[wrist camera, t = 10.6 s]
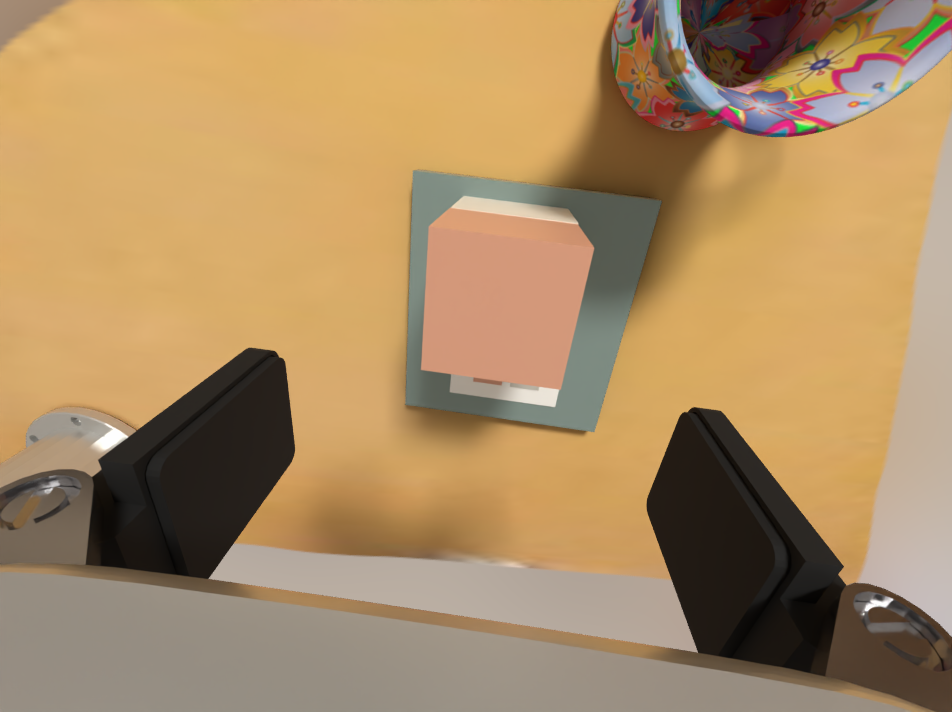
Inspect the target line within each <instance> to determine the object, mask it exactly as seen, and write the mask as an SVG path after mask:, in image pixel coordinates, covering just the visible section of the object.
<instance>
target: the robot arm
mask: <svg viewBox="0 0 952 712" xmlns="http://www.w3.org/2000/svg"><path fill="white" fill-rule="evenodd" d="M294 453H295V444H294V435H293V426H292V417H291V409H290V400H289V391H288V382H287V373H286V365H285V361H284V359H282V358H279V356H278V354H277V353H276V352H275V351H271V350H264V349H256V348H248V349H246V350H244V351H243V352H242V353H240V354H239V355H238V356H236V357H235V358H234V359H232V360H231V361H230V362H228V363H227V364H226V365H224V366H223V367H222V368H220V369H219V370H218V371H216V372H215V373H214V374H212V375H211V376H209V377H208V378H207V379H205V380H204V381H203V382H201V383H200V384H199V385H197V386H196V387H195V388H193V389H192V390H191V391H189V392H188V393H187V394H185V395H184V396H183V397H181V398H180V399H179V400H177V401H176V402H175V403H173V404H172V405H171V406H169V407H168V408H167V409H165V410H164V411H163V412H161V413H160V414H159V415H157V416H156V417H155V418H153V419H152V420H151V421H149V422H148V423H146V424H145V425H144V426H142V427H141V428H140V429H138V430H137V431H136V430H135V429H134V428H132V427H130V426H129V425H127V424H125V423H124V422H122V421H120V420H118V419H116V418H114V417H112V416H110V415H108V414H105V413H102V412H99V411H96V410H91V409H86V408H81V407H63V408H57V409H54V410H52V411H50V412H47V413H46V414H44V415H42V416H41V417H39V418H37V419H36V420H34V421H33V422H32V424H31V425H30V426H29V428H28V430H27V433H26V448H25V449H24V450H22V451H20V452H19V453H17V454H15V455H14V456H12V457H11V458H9V459H7V460H6V461H4V462H2V463H1V464H0V712H952V637H951V636H950V635H949V634H948V632H946V630H945V629H944V628H943V627H942V626H941V625H940V624H939V623H938V622H936V621H935V620H934V619H933V618H931V617H930V616H929V615H928V614H926V613H925V612H924V611H923V610H921V609H920V608H918V607H917V606H915V605H914V604H912V603H910V602H909V601H907V600H906V599H904V598H903V597H901V596H899V595H896V594H894V593H892V592H890V591H888V590H886V589H884V588H881V587H877V586H874V585H871V584H865V583H853V584H850V585H847V586H846V584H845V583H844V582H843V580H842V579H841V578H840V576H839V575H838V574H839V572H840V571H841V570H842V569H843V567H844V566H843V565H842V564H841V562H840V561H839V560H838V558H837V557H836V556H835V555H834V553H833V552H832V551H831V550H830V548H829V547H828V546H827V544H826V543H825V542H824V541H823V539H822V538H821V537H820V536H819V534H818V533H817V532H816V530H815V529H814V528H813V527H812V525H811V524H810V523H809V522H808V520H807V519H806V518H805V516H804V515H803V514H802V513H801V511H800V510H799V509H798V508H797V506H796V505H795V504H794V502H793V501H792V500H791V499H790V497H789V496H788V495H787V494H786V492H785V491H784V490H783V489H782V487H781V486H780V485H779V483H778V482H777V481H776V480H775V478H774V477H773V476H772V475H771V473H770V472H769V471H768V469H767V468H766V467H765V466H764V464H763V463H762V462H761V461H760V459H759V458H758V457H757V455H756V454H755V453H754V452H753V450H752V449H751V448H750V447H749V445H748V444H747V443H746V441H745V440H744V439H743V438H742V436H741V435H740V434H739V433H738V431H737V430H736V429H735V427H734V426H733V425H732V424H731V422H730V421H729V420H728V419H727V417H726V416H725V415H724V414H723V413H722V412H721V411H718V410H711V409H703V408H696V407H694V408H691V409H690V410H689V411H688V413H687V412H684V413H682V414H681V415H680V417H679V419H678V422H677V425H676V427H675V430H674V432H673V435H672V437H671V440H670V442H669V445H668V447H667V450H666V452H665V455H664V457H663V460H662V462H661V465H660V468H659V470H658V473H657V475H656V478H655V480H654V483H653V485H652V488H651V490H650V493H649V495H648V498H647V512H648V516H649V519H650V521H651V524H652V527H653V530H654V532H655V535H656V538H657V541H658V543H659V546H660V549H661V552H662V554H663V557H664V560H665V563H666V565H667V568H668V571H669V574H670V576H671V579H672V582H673V585H674V587H675V590H676V593H677V596H678V598H679V601H680V604H681V607H682V609H683V612H684V615H685V618H686V620H687V623H688V626H689V629H690V631H691V634H692V637H693V640H694V642H695V645H696V648H697V650H698V653H696V652H690V651H685V650H678V649H671V648H665V647H659V646H652V645H646V644H639V643H633V642H627V641H620V640H614V639H608V638H601V637H594V636H588V635H582V634H575V633H569V632H563V631H556V630H549V629H543V628H537V627H530V626H523V625H517V624H511V623H503V622H497V621H491V620H484V619H477V618H470V617H464V616H458V615H451V614H444V613H437V612H431V611H424V610H417V609H411V608H404V607H397V606H390V605H384V604H377V603H371V602H364V601H357V600H350V599H343V598H336V597H329V596H323V595H316V594H309V593H302V592H295V591H288V590H281V589H274V588H266V587H260V586H253V585H246V584H239V583H232V582H225V581H219V580H212V579H209V577H210V576H211V574H212V573H213V572H214V570H215V569H216V567H217V566H218V564H219V563H220V562H221V560H222V559H223V557H224V556H225V555H226V553H227V552H228V551H229V549H230V548H231V546H232V545H233V544H234V542H235V541H236V539H237V538H238V536H239V535H240V534H241V532H242V531H243V529H244V528H245V527H246V525H247V524H248V522H249V521H250V520H251V518H252V517H253V515H254V514H255V513H256V511H257V510H258V508H259V507H260V506H261V504H262V503H263V501H264V500H265V499H266V497H267V496H268V494H269V493H270V492H271V490H272V489H273V487H274V486H275V485H276V483H277V482H278V480H279V479H280V478H281V476H282V475H283V473H284V472H285V471H286V469H287V468H288V466H289V465H290V463H291V462H292V460H293V457H294Z"/></svg>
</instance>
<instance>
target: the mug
mask: <svg viewBox="0 0 952 712" xmlns="http://www.w3.org/2000/svg"><path fill="white" fill-rule="evenodd" d="M951 50H952V0H620V1H619V4H618V7H617V11H616V14H615V19H614V24H613V30H612V42H611V52H612V63H613V69H614V74H615V78H616V80H617V83H618V86H619V88H620V91H621V93H622V95H623V96H624V98H625V100H626V101H627V103H628V104H629V105H630V107H631V108H632V109H633V110H634V111H635V112H636V113H637V114H638V115H639V116H641V117H642V118H643V119H645V120H646V121H648V122H649V123H651V124H653V125H655V126H658V127H661V128H664V129H668V130H674V131H693V130H700V129H704V128H708V127H711V126H714V125H716V124H719V123H722V124H724V125H726V126H728V127H730V128H733V129H736V130H738V131H741V132H744V133H749V134H753V135H758V136H767V137H793V136H802V135H808V134H813V133H818V132H822V131H825V130H829V129H832V128H836V127H838V126H841V125H843V124H846V123H849V122H851V121H854V120H856V119H858V118H860V117H862V116H864V115H866V114H868V113H870V112H872V111H874V110H875V109H877V108H879V107H881V106H882V105H884V104H886V103H887V102H889V101H890V100H892V99H893V98H895V97H896V96H898V95H899V94H901V93H902V92H904V91H905V90H907V89H908V88H909V87H910V86H912V85H913V84H914V83H916V82H917V81H918V80H919V79H921V78H922V77H923V76H924V75H925V74H927V73H928V72H929V71H930V70H931V69H932V68H933V67H935V66H936V65H937V64H938V63H939V62H940V61H941V60H942V59H943V58H944V57H945V56H946V55H947V54H948V53H949V52H950V51H951Z"/></svg>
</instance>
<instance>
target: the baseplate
mask: <svg viewBox="0 0 952 712" xmlns="http://www.w3.org/2000/svg"><path fill="white" fill-rule="evenodd" d="M661 203H662V201H661V200H658V199H656V198H647V197H639V196H631V195H623V194H615V193H606V192H598V191H590V190H582V189H574V188H565V187H557V186H549V185H541V184H533V183H524V182H516V181H508V180H500V179H492V178H483V177H475V176H467V175H459V174H451V173H442V172H434V171H426V170H414V171H413V189H412V220H411V251H410V282H409V312H408V343H407V374H406V404H405V405H411V406H418V407H425V408H432V409H439V410H445V411H452V412H459V413H466V414H473V415H480V416H487V417H494V418H501V419H508V420H515V421H522V422H528V423H535V424H542V425H549V426H556V427H563V428H570V429H577V430H584V431H591V432H594V431H595V428H596V424H597V421H598V418H599V414H600V411H601V407H602V404H603V401H604V397H605V394H606V390H607V387H608V383H609V380H610V377H611V373H612V370H613V366H614V363H615V360H616V356H617V353H618V349H619V346H620V343H621V339H622V336H623V332H624V329H625V325H626V322H627V319H628V315H629V312H630V308H631V305H632V302H633V298H634V295H635V291H636V288H637V285H638V281H639V278H640V274H641V271H642V268H643V264H644V261H645V257H646V254H647V250H648V247H649V244H650V240H651V237H652V233H653V230H654V227H655V223H656V220H657V216H658V213H659V210H660V206H661ZM449 208H456V209H464V210H472V211H479V212H487V213H495V214H503V215H511V216H519V217H526V218H534V219H542V220H550V221H558V222H565V223H573V224H578V225H579V227H580V228H581V229H582V231H583V232H584V234H585V235H586V237H587V238H588V239H589V241H590V242H591V244H592V245H593V247H594V251H593V256H592V260H591V264H590V268H589V273H588V277H587V281H586V285H585V289H584V294H583V298H582V302H581V306H580V311H579V315H578V319H577V323H576V327H575V332H574V336H573V340H572V344H571V349H570V353H569V357H568V361H567V365H566V370H565V374H564V378H563V382H562V387H561V390H558V389H551V388H544V387H537V386H530V385H523V384H516V383H509V382H502V381H495V380H488V379H482V378H475V377H468V376H461V375H454V374H447V373H440V372H433V371H426V370H421V361H422V342H423V324H424V305H425V287H426V268H427V250H428V231H429V226H430V225H431V224H432V223H433V222H434V221H435V220H436V219H438V218H439V217H440V216H441V215H442V214H443V213H444V212H446V211H447V210H448V209H449Z"/></svg>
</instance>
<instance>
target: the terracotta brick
mask: <svg viewBox="0 0 952 712" xmlns="http://www.w3.org/2000/svg"><path fill="white" fill-rule="evenodd" d="M593 251H594V247H593V245H592V244H591V242H590V241H589V239H588V238H587V237H586V235H585V234H584V232H583V231H582V229H581V228H580V227H579V225H578V224H573V223H565V222H558V221H550V220H542V219H534V218H526V217H519V216H511V215H503V214H495V213H487V212H479V211H472V210H464V209H456V208H449V209H448V210H447V211H446V212H444V213H443V214H442V215H441V216H440V217H439V218H438V219H436V220H435V221H434V222H433V223H432V224H431V225H430V226H429V231H428V250H427V268H426V287H425V305H424V324H423V342H422V361H421V370H426V371H433V372H440V373H447V374H454V375H461V376H468V377H475V378H482V379H488V380H495V381H502V382H509V383H516V384H523V385H530V386H537V387H544V388H551V389H558V390H561V387H562V382H563V378H564V374H565V370H566V365H567V361H568V357H569V353H570V349H571V344H572V340H573V336H574V332H575V327H576V323H577V319H578V315H579V311H580V306H581V302H582V298H583V294H584V289H585V285H586V281H587V277H588V273H589V268H590V264H591V260H592V256H593Z"/></svg>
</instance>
